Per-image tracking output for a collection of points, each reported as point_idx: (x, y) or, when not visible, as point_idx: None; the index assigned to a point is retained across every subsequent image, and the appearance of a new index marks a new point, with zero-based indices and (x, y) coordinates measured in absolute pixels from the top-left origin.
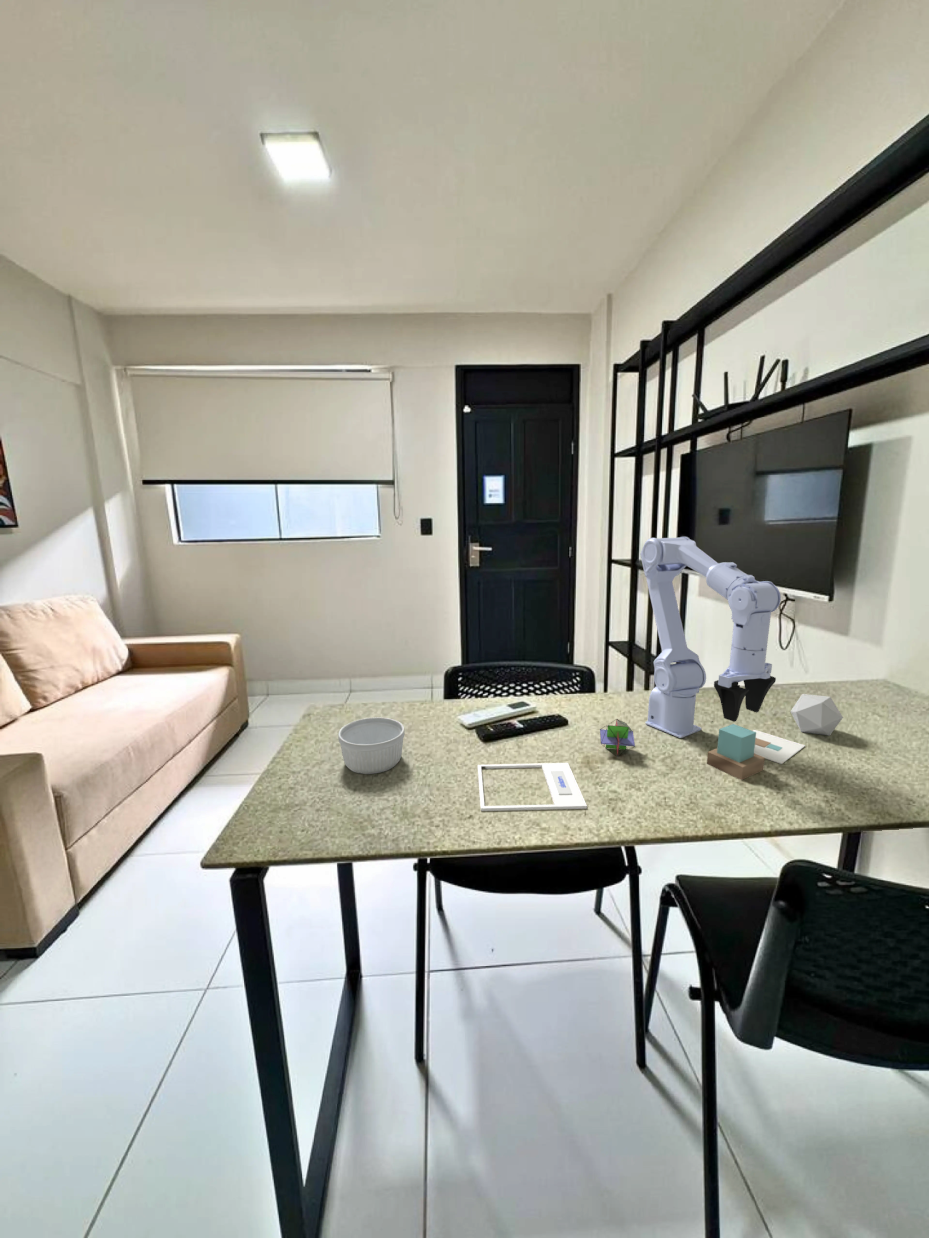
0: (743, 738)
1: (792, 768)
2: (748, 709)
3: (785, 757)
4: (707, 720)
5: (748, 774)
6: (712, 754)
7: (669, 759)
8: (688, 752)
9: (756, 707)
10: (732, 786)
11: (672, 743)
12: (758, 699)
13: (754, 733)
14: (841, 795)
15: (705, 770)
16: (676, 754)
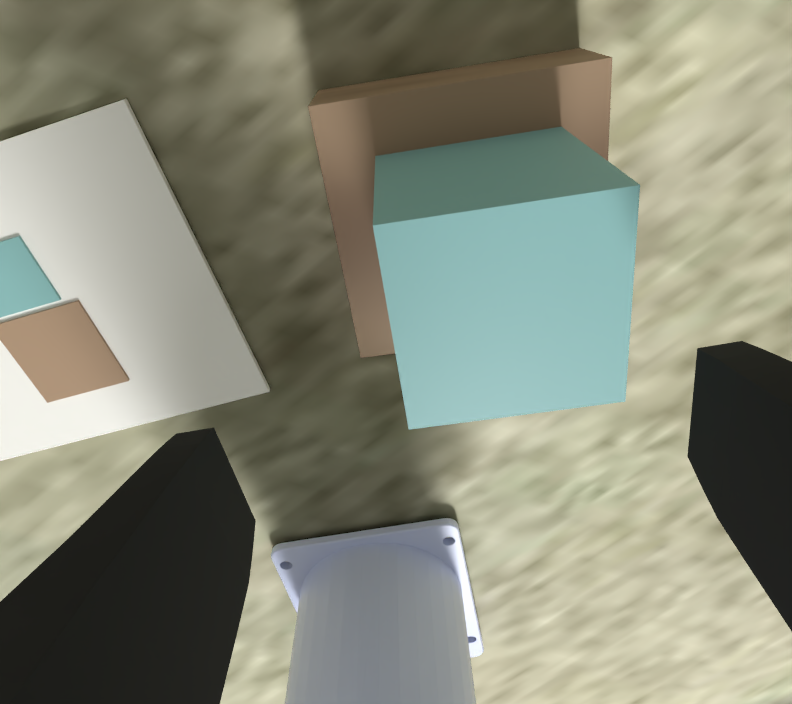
0: (606, 185)
1: (91, 19)
2: (247, 506)
3: (32, 150)
4: None
5: (503, 62)
6: None
7: None
8: None
9: (200, 482)
10: (713, 6)
11: (530, 496)
12: (139, 584)
13: (405, 218)
14: None
15: (656, 233)
16: (621, 415)
